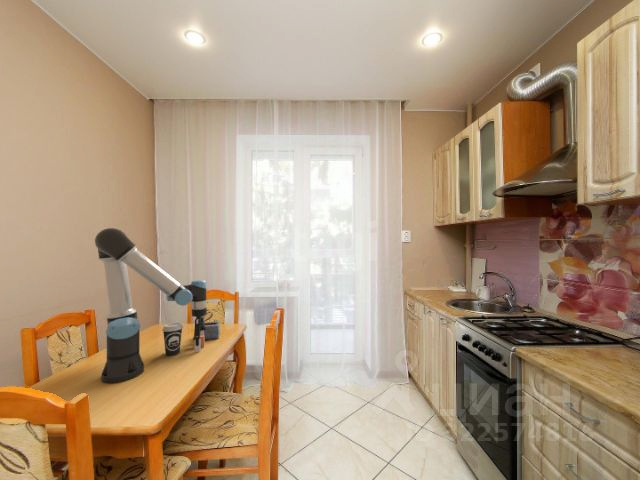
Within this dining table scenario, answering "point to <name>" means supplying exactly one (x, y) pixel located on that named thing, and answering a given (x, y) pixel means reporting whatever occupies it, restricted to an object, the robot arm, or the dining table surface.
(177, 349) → the coffee cup
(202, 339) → the salmon pink eraser
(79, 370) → the dining table surface
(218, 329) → the coin box
